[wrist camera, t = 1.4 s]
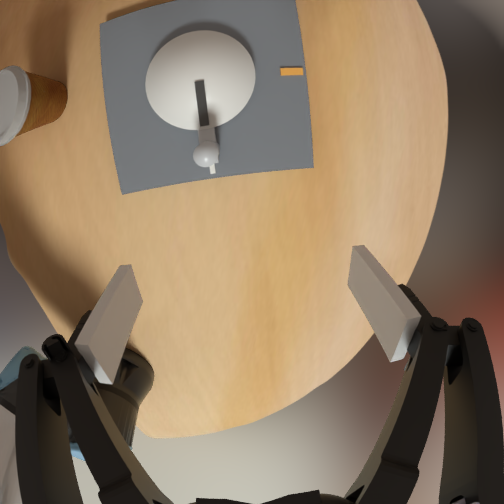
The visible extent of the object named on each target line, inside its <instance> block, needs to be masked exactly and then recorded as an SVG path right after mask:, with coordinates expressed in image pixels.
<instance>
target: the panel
mask: <svg viewBox="0 0 504 504" xmlns="http://www.w3.org/2000/svg"><path fill="white" fill-rule="evenodd" d="M200 30H209V31H216V32H220V33H224V34H226V35H229V36H230V37H232V38H234V39H236V40H237V41H238V42H240V43H241V44H242V45H243V46H244V47H245V49H246V50H247V51H248V53H249V54H250V56H251V58H252V61H253V63H254V68H255V85H254V89H253V92H252V95H251V97H250V99H249V101H248V102H247V104H246V105H245V107H244V108H243V109H242V110H241V111H240V112H239V113H238V114H237V115H236V116H235V117H234V118H232V119H231V120H229V121H228V122H226V123H224V124H222V125H219V126H216V127H215V135H216V142H217V143H218V144H219V146H220V153H219V155H218V157H219V163H214V164H213V165H212V166H209V167H201V166H199V165H197V164H196V163H195V161H194V159H193V152H194V150H195V148H196V147H197V146H198V145H200V144H199V137H198V130H188V129H182V128H179V127H176V126H173V125H171V124H169V123H167V122H166V121H164V120H163V119H162V118H160V117H159V116H158V115H157V113H156V112H155V111H154V110H153V108H152V107H151V105H150V103H149V101H148V98H147V94H146V87H145V82H146V74H147V70H148V68H149V65H150V63H151V61H152V59H153V58H154V56H155V55H156V53H157V52H158V51H159V50H160V49H161V48H162V47H163V46H164V45H165V44H166V43H168V42H169V41H171V40H172V39H174V38H176V37H178V36H180V35H183V34H185V33H189V32H193V31H200ZM100 47H101V65H102V77H103V88H104V97H105V105H106V112H107V119H108V126H109V132H110V138H111V144H112V149H113V155H114V160H115V165H116V170H117V174H118V179H119V183H120V188H121V192H122V195H123V194H128V193H132V192H137V191H142V190H147V189H152V188H158V187H163V186H168V185H174V184H180V183H186V182H192V181H198V180H205V179H211V178H219V177H226V176H233V175H241V174H250V173H259V172H268V171H279V170H290V169H303V168H314V166H313V148H312V133H311V120H310V108H309V97H308V87H307V78H306V69H305V61H304V53H303V46H302V39H301V32H300V26H299V20H298V14H297V8H296V2H295V0H176V1H171V2H167V3H163V4H159V5H155V6H152V7H148V8H145V9H141V10H138V11H135V12H132V13H129V14H126V15H123V16H120V17H117V18H115V19H112V20H109V21H107V22H104V23H102V24H100Z"/></svg>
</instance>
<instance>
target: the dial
mask: <svg viewBox="0 0 504 504" xmlns="http://www.w3.org/2000/svg"><path fill="white" fill-rule="evenodd" d="M254 85H255V68H254V63H253V61H252V58H251V56H250V54H249V53H248V51H247V50H246V49H245V47H244V46H243V45H242V44H241V43H240V42H238V41H237V40H236V39H234V38H232V37H230V36H229V35H226V34H224V33H220V32H216V31H209V30H200V31H193V32H189V33H185V34H183V35H180V36H178V37H176V38H174V39H172V40H171V41H169V42H168V43H166V44H165V45H164V46H163V47H162V48H161V49H160V50H159V51H158V52H157V53H156V55H155V56H154V58H153V59H152V61H151V63H150V65H149V68H148V70H147V74H146V82H145V87H146V94H147V98H148V101H149V103H150V105H151V107H152V108H153V110H154V111H155V112H156V113H157V115H158V116H159V117H160V118H162V119H163V120H164V121H166V122H167V123H169V124H171V125H173V126H176V127H179V128H182V129H188V130H198V137H199V144H200V145H198V146H197V147H196V148H195V150H194V152H193V159H194V161H195V163H196V164H197V165H199V166H201V167H209V166H212V165H213V164H214V163H219V157H218V155H219V153H220V146H219V144H218V143H217V142H216V135H215V127H216V126H219V125H222V124H224V123H226V122H228V121H229V120H231V119H232V118H234V117H235V116H236V115H237V114H238V113H239V112H240V111H241V110H242V109H243V108H244V107H245V105H246V104H247V102H248V101H249V99H250V97H251V95H252V92H253V89H254Z"/></svg>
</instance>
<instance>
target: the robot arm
mask: <svg viewBox="0 0 504 504" xmlns="http://www.w3.org/2000/svg"><path fill="white" fill-rule="evenodd" d="M348 286H349V288H350V290H351V291H352V293H353V295H354V297H355V298H356V300H357V302H358V304H359V305H360V307H361V309H362V311H363V312H364V314H365V316H366V318H367V319H368V321H369V323H370V325H371V327H372V329H373V330H374V332H375V334H376V336H377V338H378V339H379V341H380V343H381V345H382V347H383V349H384V351H385V353H386V355H387V357H388V359H389V361H390V362H393V361H397V360H400V359H403V358H404V356H405V354H406V352H407V350H408V352H409V354H410V358H409V360H408V362H407V364H406V366H405V368H404V370H405V373H404V376H403V379H402V382H401V385H400V388H399V390H398V393H397V396H396V398H395V401H394V404H393V406H392V409H391V411H390V413H389V416H388V418H387V421H386V423H385V425H384V427H383V430H382V432H381V434H380V436H379V438H378V441H377V443H376V445H375V447H374V449H373V451H372V453H371V455H370V457H369V459H368V461H367V462H366V464H365V466H364V468H363V470H362V472H361V473H360V475H359V477H358V478H357V480H356V481H355V482H354V483H353V485H352V486H351V488H350V489H349V491H348V492H347V494H346V495H345V497H344V498H342V497H339V496H335V495H331V494H320V492H319V490H315V491H310V492H304V493H298V494H291V495H287V496H284V497H282V498H278V499H275V500H272V501H269V502H265V503H262V504H407V502H408V500H409V498H410V496H411V493H412V491H413V489H414V487H415V484H416V482H417V480H418V477H419V470H418V468H417V467H418V463H419V461H420V458H421V455H422V452H423V449H424V447H425V444H426V441H427V438H428V435H429V431H430V428H431V425H432V421H433V418H434V413H435V410H436V406H437V402H438V398H439V393H440V389H441V384H442V379H443V377H444V393H445V442H444V457H443V458H444V459H443V468H442V477H441V485H440V493H439V504H504V442H503V427H502V416H501V408H500V401H499V394H498V389H497V383H496V378H495V373H494V369H493V364H492V360H491V356H490V352H489V348H488V345H487V341H486V337H485V334H484V331H483V327H482V326H481V324H480V323H479V322H478V321H477V320H475V319H473V318H465V319H463V321H462V323H461V325H460V326H449V325H448V324H447V322H445V321H444V320H443V319H441V318H437V317H432V316H431V315H430V313H429V312H428V311H427V309H426V308H425V307H424V305H423V304H422V303H421V302H420V301H419V299H418V298H417V297H416V296H415V294H414V293H413V292H412V291H411V289H409V288H408V287H406V286H405V285H403V284H400V285H397V284H396V283H395V281H394V280H393V279H392V278H391V276H390V275H389V274H388V273H387V272H386V270H385V269H384V268H383V267H382V266H381V264H380V263H379V262H378V261H377V260H376V258H375V257H374V256H373V255H372V254H371V253H370V251H369V250H368V249H367V248H366V247H365V246H364V245H360V246H353V247H352V255H351V263H350V271H349V278H348ZM142 303H143V300H142V297H141V294H140V291H139V288H138V285H137V282H136V279H135V276H134V272H133V269H132V266H131V265H120V266H119V268H118V269H117V271H116V273H115V274H114V276H113V277H112V279H111V281H110V282H109V284H108V285H107V287H106V289H105V290H104V292H103V294H102V295H101V297H100V299H99V300H98V302H97V304H96V305H95V307H94V309H93V310H89V311H88V312H87V313H85V314H84V315H83V316H82V318H81V320H80V321H79V324H78V325H77V327H76V328H75V329H76V330H74V332H73V334H72V336H71V337H70V339H69V341H68V343H67V342H66V341H65V339H64V338H63V336H62V335H60V334H55V335H52V336H50V337H48V338H47V339H46V340H45V341H44V342H43V345H42V351H43V352H44V354H45V355H46V357H47V358H45V357H44V356H42V355H41V354H40V353H39V352H37V351H36V350H35V349H34V348H32V347H30V346H25V347H23V348H21V349H20V351H18V353H17V354H16V355H15V356H14V357H13V358H12V360H11V361H10V362H9V363H8V364H7V366H6V367H5V368H4V370H3V371H2V372H1V374H0V504H83V501H82V497H81V494H80V490H79V486H78V482H77V478H76V475H75V470H74V465H73V460H72V456H74V457H76V458H79V459H81V460H84V461H86V463H87V465H88V467H89V469H90V471H91V473H92V475H93V477H94V479H95V481H96V483H97V484H98V486H99V488H100V491H99V493H98V496H99V499H100V501H101V503H102V504H173V502H172V501H171V500H170V499H169V498H167V497H166V496H165V495H164V494H163V493H162V492H161V491H160V490H159V488H158V487H157V486H156V485H155V483H154V482H153V481H152V479H151V478H150V477H149V475H148V474H147V473H146V471H145V470H144V468H143V467H142V466H141V464H140V463H139V461H138V460H137V458H136V457H135V455H134V454H133V452H132V451H131V450H132V442H133V436H134V430H135V425H136V420H137V415H138V410H139V406H140V404H141V403H142V401H143V400H144V398H145V397H146V395H147V394H148V392H149V391H150V390H151V388H152V385H153V381H154V372H153V370H152V368H151V366H150V365H149V364H148V363H147V362H146V361H145V360H144V359H143V358H142V357H141V356H139V355H138V354H136V353H134V352H133V351H131V350H129V349H126V348H125V347H126V344H127V341H128V339H129V336H130V333H131V331H132V328H133V325H134V323H135V320H136V318H137V315H138V313H139V310H140V308H141V305H142ZM190 504H250V503H244V502H239V501H233V500H228V499H205V498H196V502H194V503H190Z"/></svg>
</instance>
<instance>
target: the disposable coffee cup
mask: <svg viewBox="0 0 504 504" xmlns="http://www.w3.org/2000/svg"><path fill="white" fill-rule="evenodd" d="M66 103H67V90H66V88H65V86H64V85H63V84H62V83H61V82H58V81H55V80H52V79H49V78H46V77H42V76H39V75H36V74H32V73H29V72H25V71H24V70H22V69H21V68H20V67H18V66H8V67H6V68H4V69H3V70H1V71H0V146H3V145H5V144H7V143H9V142H10V141H11V140H12V139H13V138H14V137H16V136H18V135H21V134H23V133H25V132H28V131H30V130H33V129H35V128H38V127H40V126H43V125H46V124H48V123H51V122H54V121H55V120H57V119H58V118H59V117H60V116H61V114H62V113H63V111H64V109H65V107H66Z"/></svg>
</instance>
